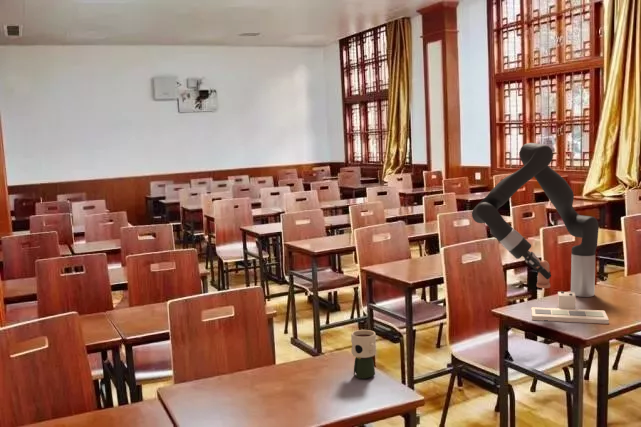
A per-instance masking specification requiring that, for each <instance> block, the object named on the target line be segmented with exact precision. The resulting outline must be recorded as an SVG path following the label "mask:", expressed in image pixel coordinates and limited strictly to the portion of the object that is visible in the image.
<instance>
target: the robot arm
mask: <svg viewBox="0 0 641 427" xmlns="http://www.w3.org/2000/svg"><path fill="white" fill-rule="evenodd" d="M553 157H554V153H553V150H552V148H551V147H550V146H549V145H547V144H542V143H536V142H528V143H525V144H523V145H522V146H521V148H520V149H519V158H520V161H521V163H522V165H523V166H522V167H520V168H519V169H518V170H516V171H514V172H512V173H511V174H509V175H507V176H505V177H504V178H503V179H501V180H500V181H499V182H498V183H496V185H495V186H494V187H493V188H492V189H491V190H490V191H489V192H488V194H487V195H486V196H485V197H484V198H483V199H482V200H481V201H480V202H478V204H476V206H475V207H474V208H473V209H472V212H471V218H472V219H473V221H474V222H476V223H478V224H485V225H486V226H487V227H488V228H489V231H490V233H491V235H492V236H493V237H494V238H495V239H496V240H498V242H499V243H500V244H501V246H503V248H504V249H506V251H508V252H509V253H510V254H511V255H512V256H513V257H514V258H515V259H516V260H519V259H521V257H522V258H524V262H525V263H526V264H527V265H529V266H530V267H531V268H532V269H533V270H535V271H536V272H537V274H538V273H541V274H542V275H543V276H544V277H545V278H546V279H549V280H550V278H552V274H551V271H550V270H549V272H548V271H547V270H546V269H545V268H544V267H543V266H542V265H541V264H540V261H541V260H540V258H539V257H538V256H537V255H536V254H535V253H534V252H533V251H530V250H531V249H532V248H531V247H532V244H531V243H530V242H529V241H528V240H527V239H526V238H525V237H524V236H523V235H522V234H521V233H520V232H518V230H516V229H514V228H513V227H512V226H511V224H509V223H508V222H507V221H506V220H505V219H504V218H503V216H502V214H500V212H499V209H500V208H501V207H502V206H504V205H505V204H506V203H507V202H508V201H509V200H510V199H511V198H512V196H513V195H515V193H516V192H517V191H518V190H520V188H523V186H524V185H525V184H527V183H528V182H529V181H530V180H532V179H533V178H535V180H536V181H537V183H538V184H539V186H540V188H541V189H542V190H543V192H544V194H545V196H546V197H547V198H548V200H549V202H550V203H551V204H552V206H554V208H555V210H556V212H558V213H557V214H558V215H559V216H560V218H561V220H562V221H563V224H564V226H565V228H566V230H567V232H568V233H569V234H570V235H571V236H573V237H575V238H580V239H581V242H580V244H577V245H573V246H571V256H570V257H571V260H570V261H571V264H570V267H571V268H570V270H571V272H570V292H574V293H575V296H576V297H580V298H582V297H583V298H590V297H591V298H592V297H593V296H595V291H596V290H595V287H596V286H595V285H596V284H595V283H596V282H595V281H596V251H597V248H598V241H599V229H600V228H599V222H598V219H597V218H596V217H595V216H591V215H590V216H589V215H582V214H581V215H580V214H579V213H578V212H577V211H576V210H575V209H574V207H573V204H574V199H575V196H574V191H573V189H572V188H571V186H570V185H569V183H568V182H567V181H566V179H565V178H564V177H563V176H561V175H560V173H558V172H557V171H555V170H554V169H553V168H551V167H550V166H549V165H550V164H551V163H552V161H553ZM538 266H539V268H538Z"/></svg>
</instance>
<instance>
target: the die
mask: <svg viewBox="0 0 641 427" xmlns="http://www.w3.org/2000/svg"><path fill="white" fill-rule="evenodd" d="M576 297H577V296H575V293H574V292H571V291H570V292H568V291H557V308H559V309H576V303H577V302H576V300H577V299H576Z"/></svg>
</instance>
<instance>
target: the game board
mask: <svg viewBox="0 0 641 427" xmlns="http://www.w3.org/2000/svg"><path fill="white" fill-rule="evenodd" d="M530 310H531V320H532V321H544V320H548V322H565V323H566V322H568V323H585V324H588V323H589V324H605V325H608V324H609V322H610V321H609V320H610V319H609V317H608V315H607V313H606V311H605V310H602V309H601V310H597V309H582V308H581V309H579V308H578V309H577V308H575V309H559V308H558V307H556V308H555V307H538V306H537V307H536V306H533V307H531V309H530Z"/></svg>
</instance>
